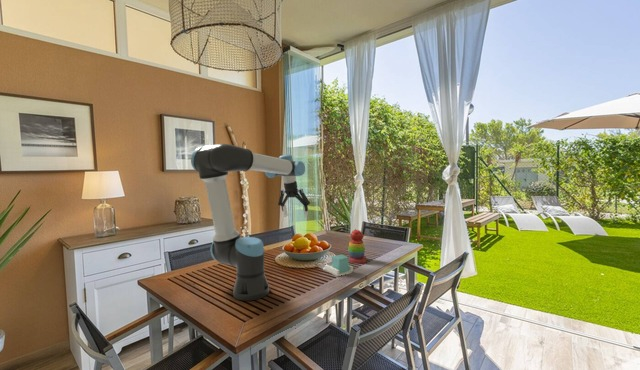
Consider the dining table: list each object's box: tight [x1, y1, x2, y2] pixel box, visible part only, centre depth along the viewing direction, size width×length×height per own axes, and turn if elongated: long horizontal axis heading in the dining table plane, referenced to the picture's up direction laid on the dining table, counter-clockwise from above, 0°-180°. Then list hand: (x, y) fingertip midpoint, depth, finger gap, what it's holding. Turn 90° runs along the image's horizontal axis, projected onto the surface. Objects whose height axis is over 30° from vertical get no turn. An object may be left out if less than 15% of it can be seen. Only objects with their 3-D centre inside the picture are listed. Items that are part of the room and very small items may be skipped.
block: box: [331, 253, 350, 273], centre depth 145 cm, size 6×6×7 cm
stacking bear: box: [347, 228, 367, 265], centre depth 163 cm, size 11×10×18 cm
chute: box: [317, 262, 354, 277], centre depth 151 cm, size 10×20×3 cm, turn 33°
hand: (296, 216), depth 169 cm, fingers open, 13 cm apart
